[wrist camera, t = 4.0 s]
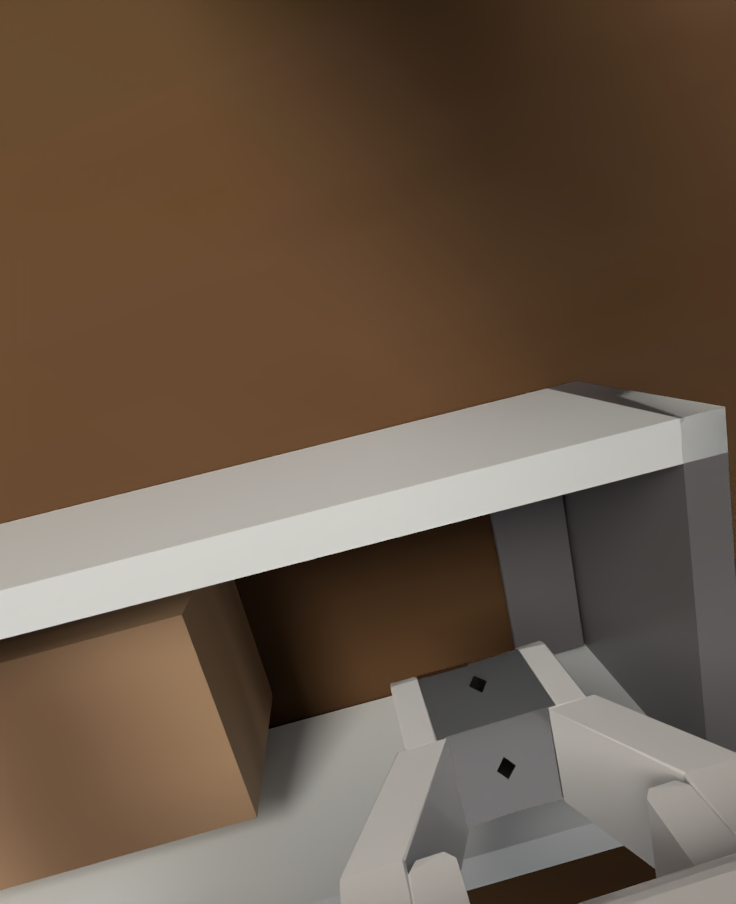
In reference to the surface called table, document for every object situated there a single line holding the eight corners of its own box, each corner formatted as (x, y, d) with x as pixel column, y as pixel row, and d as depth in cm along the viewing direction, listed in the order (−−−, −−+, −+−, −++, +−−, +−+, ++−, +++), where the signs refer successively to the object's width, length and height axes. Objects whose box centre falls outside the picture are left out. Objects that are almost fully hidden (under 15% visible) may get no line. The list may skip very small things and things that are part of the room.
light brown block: (220, 534, 14) (181, 614, 10) (273, 690, 15) (256, 817, 11) (-42, 603, 13) (-190, 713, 9) (33, 756, 14) (-71, 910, 11)
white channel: (576, 381, 13) (725, 406, 8) (613, 659, 15) (749, 809, 10) (-199, 573, 12) (-529, 724, 8) (-51, 840, 15) (-237, 1093, 10)
